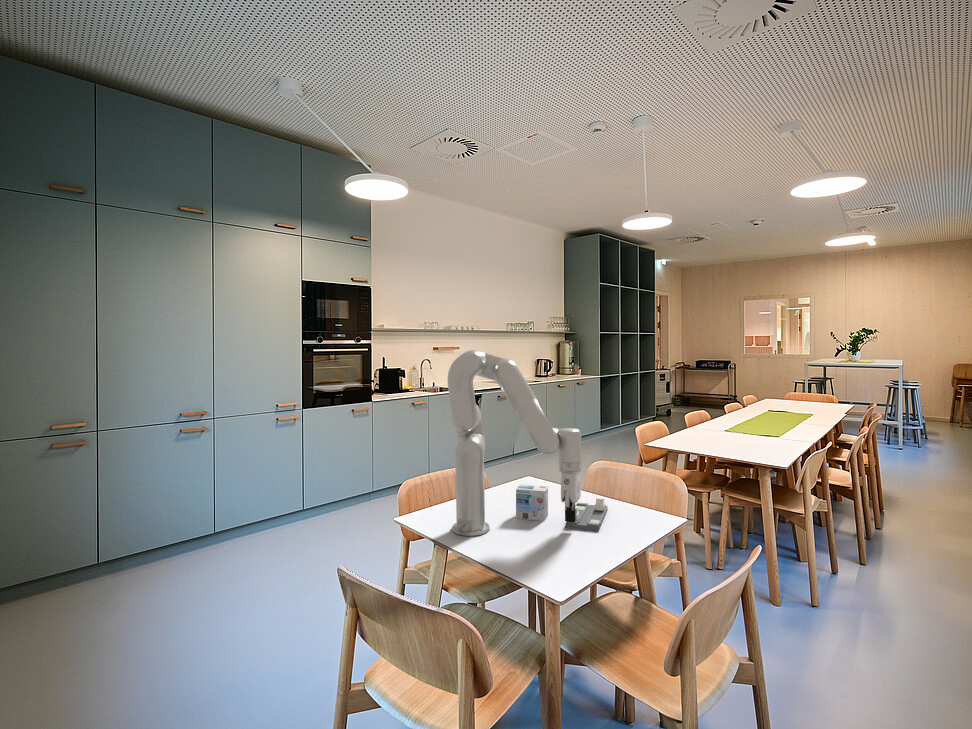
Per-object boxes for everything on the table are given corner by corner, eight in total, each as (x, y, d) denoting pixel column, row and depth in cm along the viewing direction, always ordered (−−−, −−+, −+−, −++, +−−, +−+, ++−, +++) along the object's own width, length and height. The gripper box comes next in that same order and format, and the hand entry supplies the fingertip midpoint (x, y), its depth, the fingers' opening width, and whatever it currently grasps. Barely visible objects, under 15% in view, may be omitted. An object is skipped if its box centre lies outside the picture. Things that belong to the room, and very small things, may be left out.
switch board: (599, 531, 164) (599, 525, 164) (565, 527, 168) (565, 521, 168) (607, 510, 186) (607, 504, 186) (577, 507, 190) (577, 502, 190)
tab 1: (577, 520, 169) (577, 509, 169) (568, 519, 170) (568, 508, 170) (579, 517, 173) (579, 505, 173) (570, 516, 174) (570, 504, 174)
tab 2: (603, 510, 180) (603, 499, 179) (595, 510, 181) (595, 499, 181) (605, 507, 183) (605, 496, 183) (596, 506, 184) (596, 496, 184)
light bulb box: (515, 518, 178) (515, 488, 178) (519, 513, 184) (519, 483, 184) (545, 521, 175) (545, 490, 175) (548, 515, 181) (548, 485, 181)
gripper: (577, 472, 157) (577, 530, 157) (585, 462, 171) (585, 515, 171) (553, 470, 160) (553, 527, 160) (563, 460, 174) (563, 513, 174)
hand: (570, 521), depth 166 cm, fingers closed
